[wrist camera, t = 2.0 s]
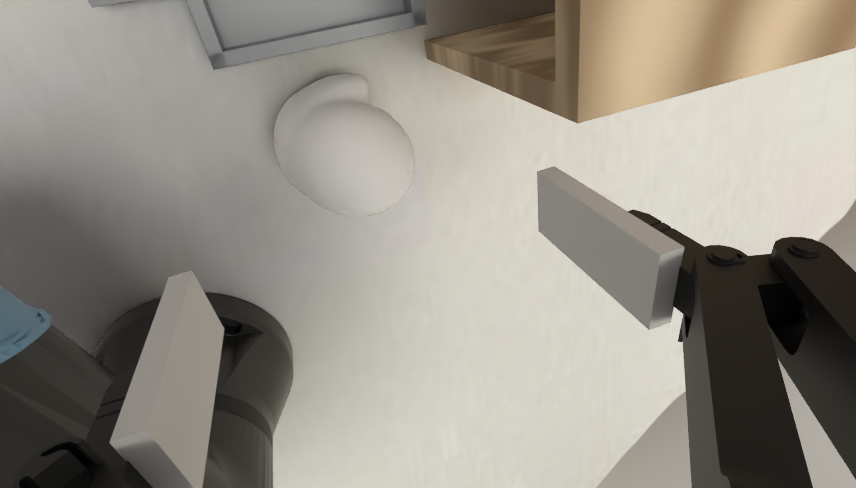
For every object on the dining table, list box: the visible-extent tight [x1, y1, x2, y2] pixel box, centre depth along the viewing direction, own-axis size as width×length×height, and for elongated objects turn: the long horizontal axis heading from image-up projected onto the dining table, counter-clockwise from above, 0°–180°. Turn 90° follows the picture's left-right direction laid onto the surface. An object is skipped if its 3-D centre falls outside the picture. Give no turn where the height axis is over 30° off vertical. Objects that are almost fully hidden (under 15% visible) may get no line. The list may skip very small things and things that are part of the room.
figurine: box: [274, 74, 414, 217], centre depth 27 cm, size 7×8×12 cm
